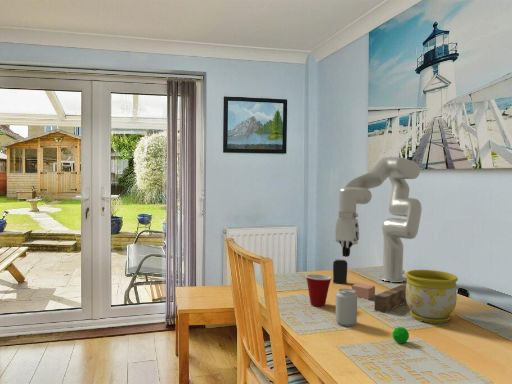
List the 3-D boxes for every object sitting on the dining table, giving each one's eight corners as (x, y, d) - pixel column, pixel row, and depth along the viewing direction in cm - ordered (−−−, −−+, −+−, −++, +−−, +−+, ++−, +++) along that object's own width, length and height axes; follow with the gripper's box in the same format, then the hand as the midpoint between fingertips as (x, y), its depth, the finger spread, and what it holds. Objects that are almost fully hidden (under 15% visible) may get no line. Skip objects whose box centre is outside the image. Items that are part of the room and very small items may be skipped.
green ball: (399, 346, 137) (400, 331, 137) (389, 340, 141) (389, 326, 141) (412, 344, 139) (412, 329, 139) (401, 338, 143) (401, 324, 143)
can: (344, 328, 152) (345, 294, 152) (331, 321, 159) (331, 288, 159) (361, 324, 156) (361, 291, 155) (347, 318, 163) (348, 286, 162)
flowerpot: (396, 317, 164) (397, 274, 164) (416, 307, 177) (417, 267, 177) (445, 330, 152) (447, 283, 151) (462, 318, 165) (464, 275, 165)
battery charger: (346, 281, 218) (347, 259, 217) (347, 283, 214) (347, 260, 214) (332, 281, 219) (332, 258, 218) (332, 283, 215) (333, 259, 214)
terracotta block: (358, 294, 197) (358, 283, 196) (374, 297, 191) (375, 286, 191) (351, 296, 192) (351, 285, 192) (368, 300, 187) (368, 288, 187)
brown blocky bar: (405, 296, 193) (406, 283, 193) (414, 298, 190) (415, 284, 190) (374, 310, 173) (375, 295, 172) (384, 312, 170) (384, 297, 170)
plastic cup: (335, 303, 181) (336, 274, 180) (325, 310, 172) (325, 280, 171) (311, 299, 187) (312, 271, 186) (300, 305, 178) (300, 276, 177)
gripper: (366, 216, 194) (365, 257, 195) (337, 213, 204) (336, 253, 205) (357, 217, 189) (356, 259, 189) (328, 214, 199) (327, 254, 200)
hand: (346, 256), depth 197 cm, fingers closed
